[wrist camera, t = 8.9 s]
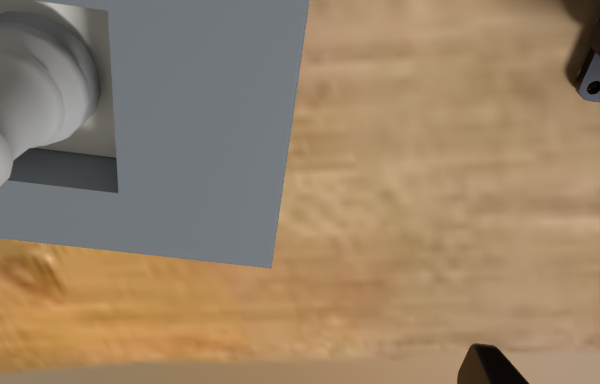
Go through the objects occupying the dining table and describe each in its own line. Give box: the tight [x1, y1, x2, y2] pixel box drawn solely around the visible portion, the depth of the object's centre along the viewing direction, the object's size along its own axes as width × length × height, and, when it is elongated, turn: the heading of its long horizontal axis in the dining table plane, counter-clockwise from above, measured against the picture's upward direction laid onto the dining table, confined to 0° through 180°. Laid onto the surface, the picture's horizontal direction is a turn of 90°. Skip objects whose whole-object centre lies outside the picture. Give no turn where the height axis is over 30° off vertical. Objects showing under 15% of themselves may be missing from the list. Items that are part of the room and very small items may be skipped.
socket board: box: [0, 0, 309, 268], centre depth 19 cm, size 18×12×2 cm, turn 82°
